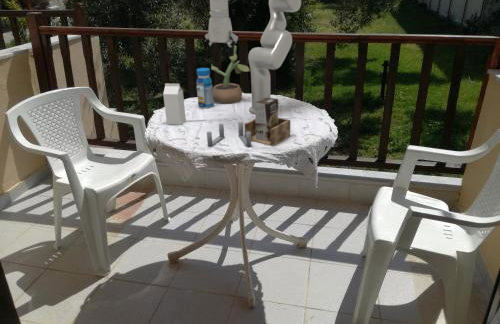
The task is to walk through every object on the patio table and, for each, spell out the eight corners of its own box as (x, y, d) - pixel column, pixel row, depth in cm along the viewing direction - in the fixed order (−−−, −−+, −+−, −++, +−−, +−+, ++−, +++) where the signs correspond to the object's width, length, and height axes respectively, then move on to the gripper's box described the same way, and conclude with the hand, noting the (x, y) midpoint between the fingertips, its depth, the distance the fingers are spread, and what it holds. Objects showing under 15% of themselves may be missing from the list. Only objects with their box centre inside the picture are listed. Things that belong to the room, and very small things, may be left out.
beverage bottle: (213, 108, 223) (210, 70, 215) (197, 108, 224) (193, 71, 215) (214, 103, 231) (212, 67, 223) (199, 104, 231) (196, 67, 223)
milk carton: (180, 125, 201) (176, 85, 193) (166, 124, 203) (162, 85, 195) (185, 120, 208) (182, 81, 200) (172, 119, 209) (167, 81, 201)
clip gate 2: (243, 135, 186) (242, 122, 184) (252, 146, 174) (251, 132, 172) (237, 135, 186) (237, 122, 183) (246, 147, 174) (246, 133, 171)
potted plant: (204, 102, 235) (200, 46, 222) (224, 94, 248) (221, 41, 236) (238, 107, 223) (235, 49, 210) (256, 99, 236) (255, 44, 224)
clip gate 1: (220, 136, 186) (219, 123, 183) (225, 137, 185) (224, 124, 182) (206, 146, 176) (205, 132, 173) (211, 147, 175) (210, 133, 172)
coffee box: (268, 141, 177) (267, 104, 171) (255, 138, 181) (254, 102, 174) (279, 134, 184) (278, 98, 177) (266, 132, 187) (265, 96, 181)
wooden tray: (263, 129, 192) (263, 114, 189) (290, 135, 184) (290, 120, 181) (245, 139, 182) (244, 123, 179) (272, 145, 174) (272, 129, 171)
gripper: (198, 15, 181) (201, 55, 189) (230, 16, 172) (233, 58, 180) (209, 13, 187) (212, 52, 194) (241, 14, 178) (243, 55, 185)
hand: (222, 55), depth 187 cm, fingers open, 9 cm apart
